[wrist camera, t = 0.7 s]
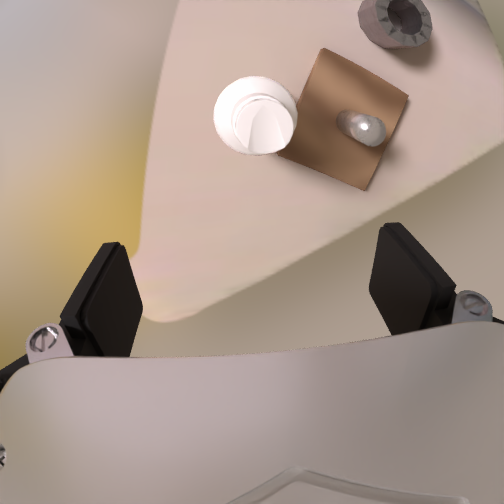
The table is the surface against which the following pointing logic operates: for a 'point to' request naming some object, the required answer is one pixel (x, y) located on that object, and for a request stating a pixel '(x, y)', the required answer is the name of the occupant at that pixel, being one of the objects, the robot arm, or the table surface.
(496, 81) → the table surface
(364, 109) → the walnut base
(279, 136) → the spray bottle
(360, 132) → the steel shaft
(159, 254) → the table surface
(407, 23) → the ring
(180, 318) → the table surface
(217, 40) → the table surface
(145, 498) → the robot arm
